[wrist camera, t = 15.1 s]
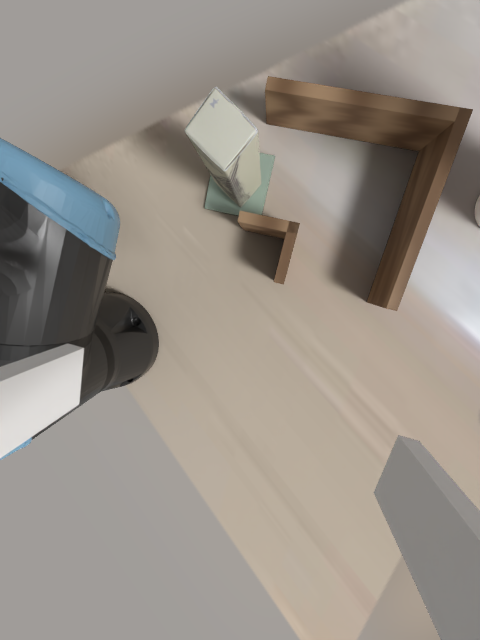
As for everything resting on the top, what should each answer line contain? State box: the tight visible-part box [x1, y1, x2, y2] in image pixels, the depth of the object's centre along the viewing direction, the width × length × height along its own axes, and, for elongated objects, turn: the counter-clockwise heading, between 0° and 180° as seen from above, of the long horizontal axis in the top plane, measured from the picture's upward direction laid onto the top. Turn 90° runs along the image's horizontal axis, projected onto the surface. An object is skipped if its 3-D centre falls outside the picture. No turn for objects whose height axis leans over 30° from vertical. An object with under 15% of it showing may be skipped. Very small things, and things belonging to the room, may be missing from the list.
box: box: [185, 87, 261, 207], centre depth 26 cm, size 5×4×13 cm
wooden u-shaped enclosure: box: [238, 76, 473, 311], centre depth 29 cm, size 20×20×6 cm
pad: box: [205, 153, 275, 216], centre depth 33 cm, size 8×8×1 cm
